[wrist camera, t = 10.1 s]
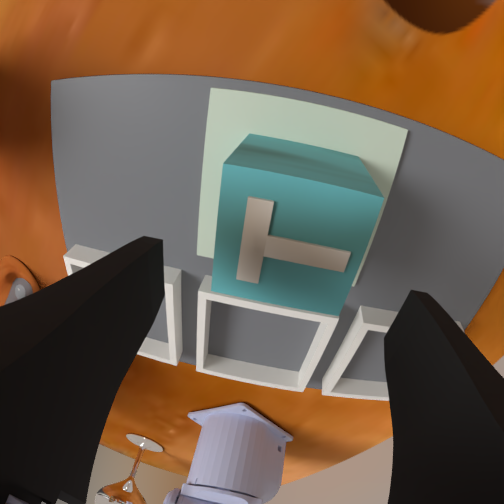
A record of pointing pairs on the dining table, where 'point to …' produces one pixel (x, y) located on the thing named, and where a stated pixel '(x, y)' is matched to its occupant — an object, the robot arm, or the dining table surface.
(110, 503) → the wineglass
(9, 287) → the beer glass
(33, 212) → the dining table surface
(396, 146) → the organizer board
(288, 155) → the teal letter cube
